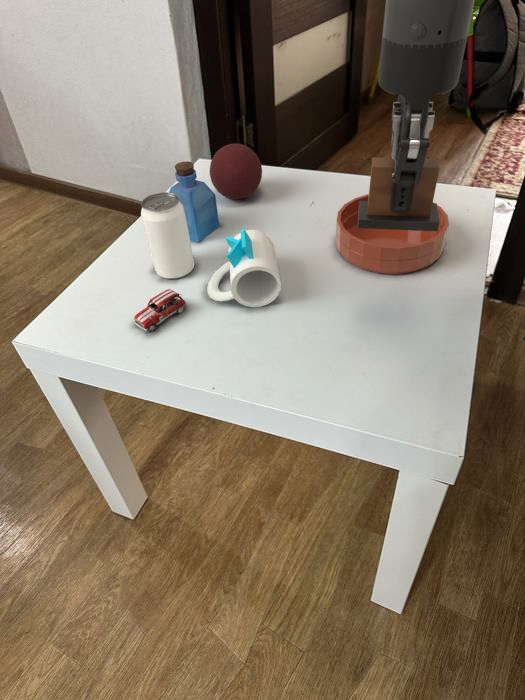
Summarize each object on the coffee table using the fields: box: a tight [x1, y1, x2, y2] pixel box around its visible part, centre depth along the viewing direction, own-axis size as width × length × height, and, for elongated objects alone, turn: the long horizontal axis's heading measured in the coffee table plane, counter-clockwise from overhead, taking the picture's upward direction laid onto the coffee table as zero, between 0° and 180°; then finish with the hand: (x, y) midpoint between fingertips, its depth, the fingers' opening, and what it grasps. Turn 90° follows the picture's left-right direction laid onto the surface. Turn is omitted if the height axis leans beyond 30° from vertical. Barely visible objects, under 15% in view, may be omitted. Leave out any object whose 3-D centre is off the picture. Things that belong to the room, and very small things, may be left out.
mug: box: [206, 228, 282, 308], centre depth 75 cm, size 12×9×12 cm
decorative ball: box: [209, 143, 263, 200], centre depth 94 cm, size 10×10×10 cm
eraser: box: [357, 156, 440, 231], centre depth 56 cm, size 9×4×7 cm, turn 80°
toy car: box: [133, 288, 187, 333], centre depth 71 cm, size 4×8×3 cm, turn 136°
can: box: [140, 191, 195, 280], centre depth 77 cm, size 6×6×12 cm
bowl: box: [335, 193, 450, 275], centre depth 80 cm, size 17×17×5 cm
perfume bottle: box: [168, 160, 221, 243], centre depth 85 cm, size 6×6×12 cm
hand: (399, 203), depth 57 cm, fingers closed on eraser, 2 cm apart
